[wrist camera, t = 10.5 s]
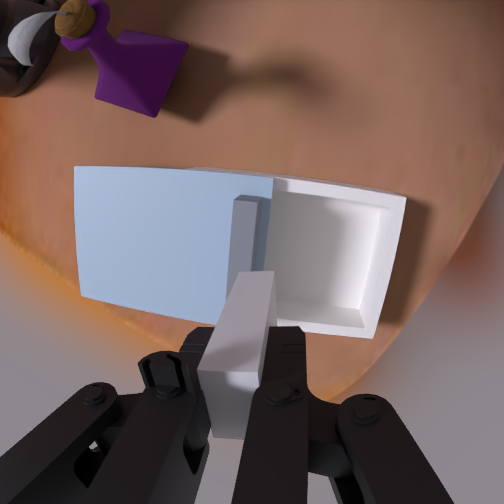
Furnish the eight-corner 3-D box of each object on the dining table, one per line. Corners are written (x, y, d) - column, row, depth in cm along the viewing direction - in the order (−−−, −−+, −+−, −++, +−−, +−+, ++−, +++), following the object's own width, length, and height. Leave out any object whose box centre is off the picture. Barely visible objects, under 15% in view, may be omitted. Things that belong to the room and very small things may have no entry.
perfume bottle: (138, 38, 26) (20, -25, 9) (200, 53, 26) (98, -34, 9) (111, 101, 28) (-27, 82, 11) (169, 121, 28) (34, 99, 11)
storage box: (194, 292, 33) (180, 312, 29) (201, 166, 29) (185, 168, 25) (364, 315, 31) (372, 338, 27) (390, 191, 27) (406, 197, 23)
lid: (85, 292, 29) (64, 308, 26) (79, 165, 25) (53, 168, 22) (257, 326, 28) (251, 350, 24) (274, 177, 24) (270, 181, 20)
